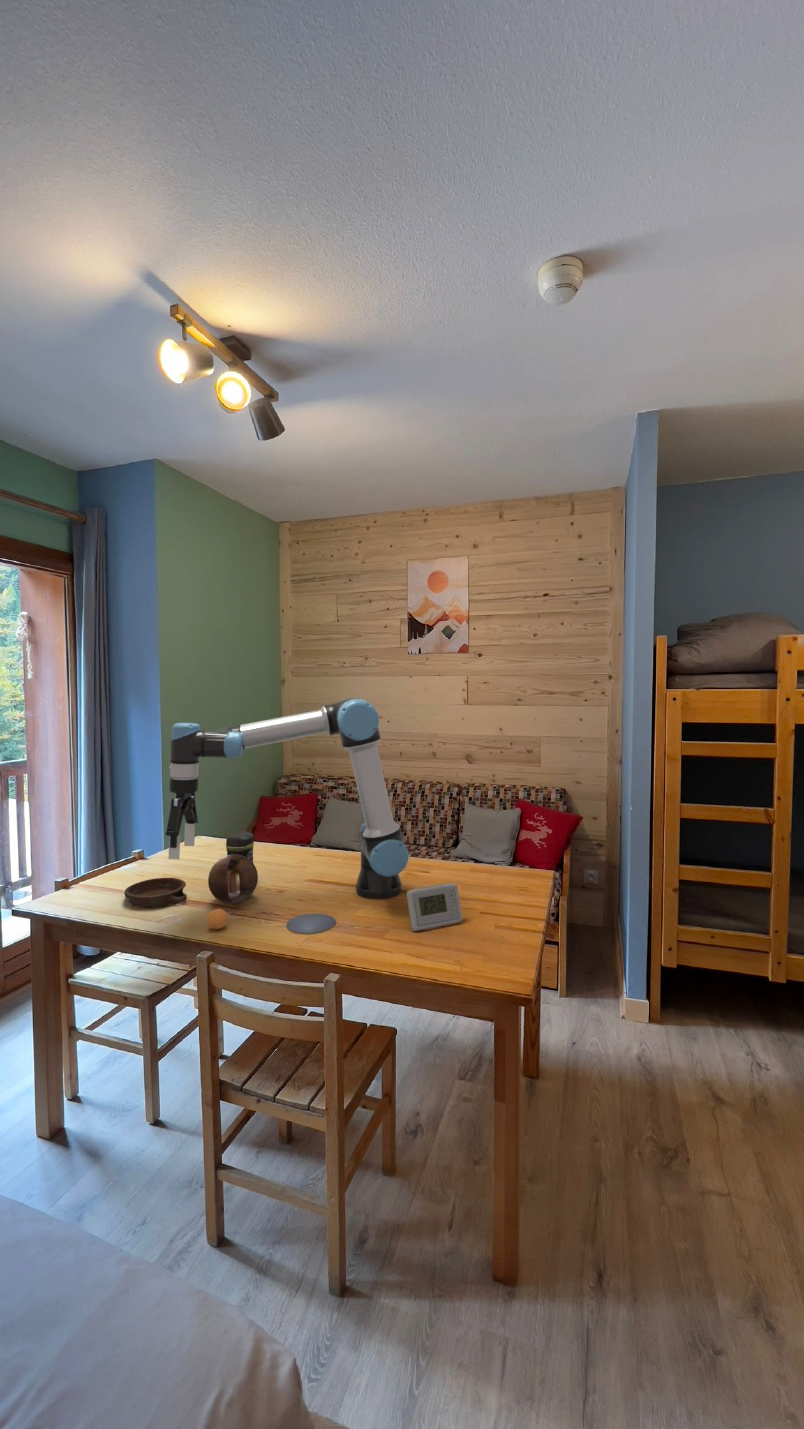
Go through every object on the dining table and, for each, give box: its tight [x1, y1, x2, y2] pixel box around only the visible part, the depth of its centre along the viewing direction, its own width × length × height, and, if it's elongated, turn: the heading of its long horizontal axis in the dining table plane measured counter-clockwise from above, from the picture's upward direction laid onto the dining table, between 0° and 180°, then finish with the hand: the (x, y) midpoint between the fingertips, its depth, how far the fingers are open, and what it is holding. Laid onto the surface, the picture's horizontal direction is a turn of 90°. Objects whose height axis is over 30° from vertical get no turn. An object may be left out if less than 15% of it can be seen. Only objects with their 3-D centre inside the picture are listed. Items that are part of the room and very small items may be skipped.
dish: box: [124, 877, 188, 909], centre depth 189 cm, size 18×22×5 cm
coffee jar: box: [225, 830, 255, 864], centre depth 200 cm, size 10×8×19 cm
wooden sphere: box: [207, 854, 259, 905], centre depth 187 cm, size 15×15×15 cm
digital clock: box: [406, 882, 463, 932], centre depth 168 cm, size 16×9×11 cm, turn 103°
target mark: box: [285, 913, 337, 935], centre depth 170 cm, size 14×14×1 cm
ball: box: [206, 908, 229, 930], centre depth 167 cm, size 6×6×6 cm
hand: (181, 852), depth 169 cm, fingers open, 13 cm apart
